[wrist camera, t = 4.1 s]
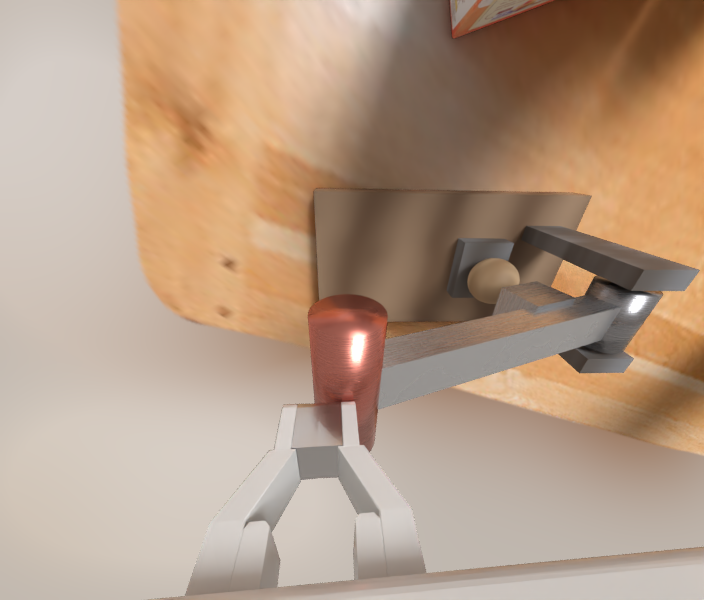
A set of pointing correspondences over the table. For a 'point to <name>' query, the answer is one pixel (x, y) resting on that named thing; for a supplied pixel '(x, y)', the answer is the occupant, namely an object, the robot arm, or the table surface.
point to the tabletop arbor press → (469, 253)
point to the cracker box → (485, 13)
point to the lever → (460, 342)
